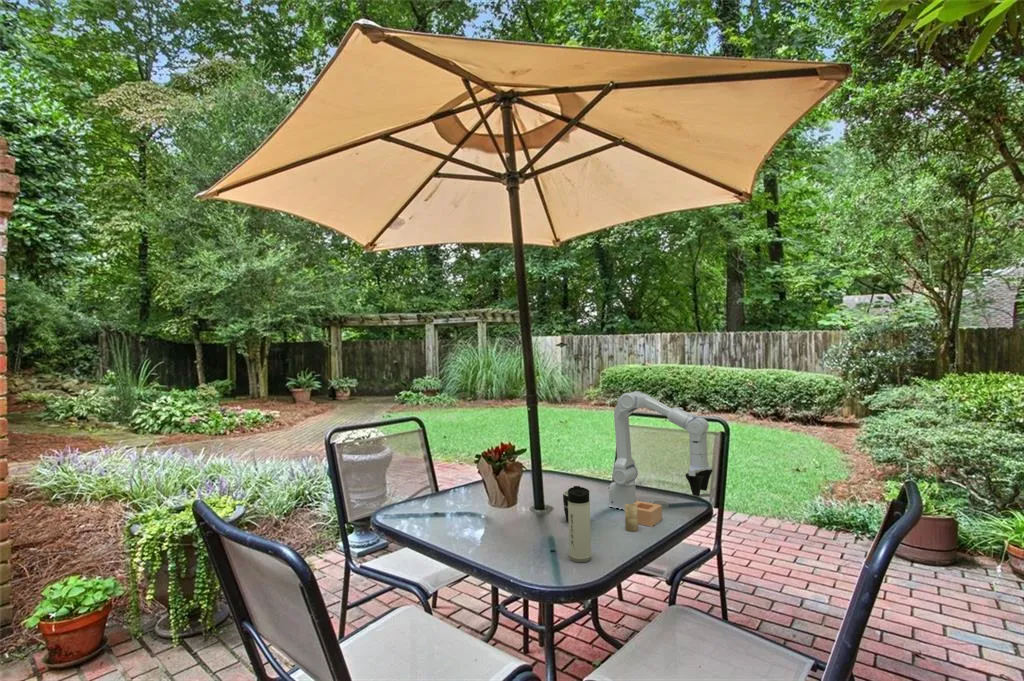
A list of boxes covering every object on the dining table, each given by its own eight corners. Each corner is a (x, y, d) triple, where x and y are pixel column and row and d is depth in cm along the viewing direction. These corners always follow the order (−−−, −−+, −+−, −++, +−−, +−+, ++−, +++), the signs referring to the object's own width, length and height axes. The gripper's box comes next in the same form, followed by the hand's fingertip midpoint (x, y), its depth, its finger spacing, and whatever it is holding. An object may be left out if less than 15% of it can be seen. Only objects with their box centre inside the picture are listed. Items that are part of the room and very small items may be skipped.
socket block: (627, 521, 171) (626, 507, 171) (637, 514, 178) (637, 500, 178) (651, 527, 165) (651, 512, 165) (662, 519, 172) (661, 505, 172)
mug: (559, 519, 175) (559, 490, 175) (583, 516, 177) (582, 488, 177) (573, 531, 163) (572, 500, 163) (597, 527, 166) (596, 497, 166)
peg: (623, 530, 163) (622, 506, 163) (628, 526, 166) (628, 502, 166) (634, 532, 160) (633, 508, 161) (639, 529, 164) (639, 505, 164)
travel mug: (588, 552, 146) (586, 485, 146) (593, 562, 139) (591, 491, 139) (567, 553, 145) (566, 486, 146) (571, 563, 139) (569, 492, 139)
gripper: (703, 458, 161) (704, 500, 161) (717, 450, 172) (718, 489, 172) (682, 455, 165) (683, 496, 165) (696, 448, 177) (697, 486, 176)
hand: (699, 492), depth 169 cm, fingers open, 7 cm apart
